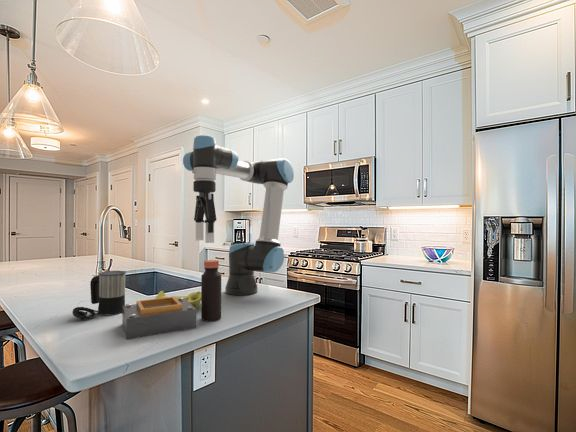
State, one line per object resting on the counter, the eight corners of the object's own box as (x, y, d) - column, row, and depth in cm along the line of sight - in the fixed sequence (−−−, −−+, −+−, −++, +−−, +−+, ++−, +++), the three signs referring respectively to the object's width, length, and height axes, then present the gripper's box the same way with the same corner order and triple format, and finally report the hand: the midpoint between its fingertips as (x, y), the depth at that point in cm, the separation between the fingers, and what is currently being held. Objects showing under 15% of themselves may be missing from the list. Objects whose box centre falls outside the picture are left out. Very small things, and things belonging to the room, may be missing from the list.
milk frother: (130, 308, 125) (130, 270, 125) (108, 321, 109) (108, 277, 109) (93, 308, 124) (93, 270, 125) (66, 321, 109) (66, 277, 109)
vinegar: (216, 322, 108) (216, 262, 108) (197, 321, 109) (198, 262, 110) (224, 316, 115) (224, 260, 115) (206, 315, 116) (206, 259, 116)
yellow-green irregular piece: (150, 304, 122) (162, 288, 131) (156, 319, 125) (167, 302, 134) (199, 302, 119) (208, 285, 128) (204, 318, 122) (212, 300, 131)
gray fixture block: (184, 314, 116) (184, 294, 116) (196, 327, 103) (196, 304, 103) (122, 324, 106) (122, 301, 106) (126, 339, 92) (126, 313, 92)
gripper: (186, 183, 122) (185, 239, 122) (202, 176, 100) (202, 244, 100) (205, 184, 126) (205, 239, 125) (226, 177, 104) (226, 243, 104)
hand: (204, 241), depth 113 cm, fingers open, 13 cm apart
